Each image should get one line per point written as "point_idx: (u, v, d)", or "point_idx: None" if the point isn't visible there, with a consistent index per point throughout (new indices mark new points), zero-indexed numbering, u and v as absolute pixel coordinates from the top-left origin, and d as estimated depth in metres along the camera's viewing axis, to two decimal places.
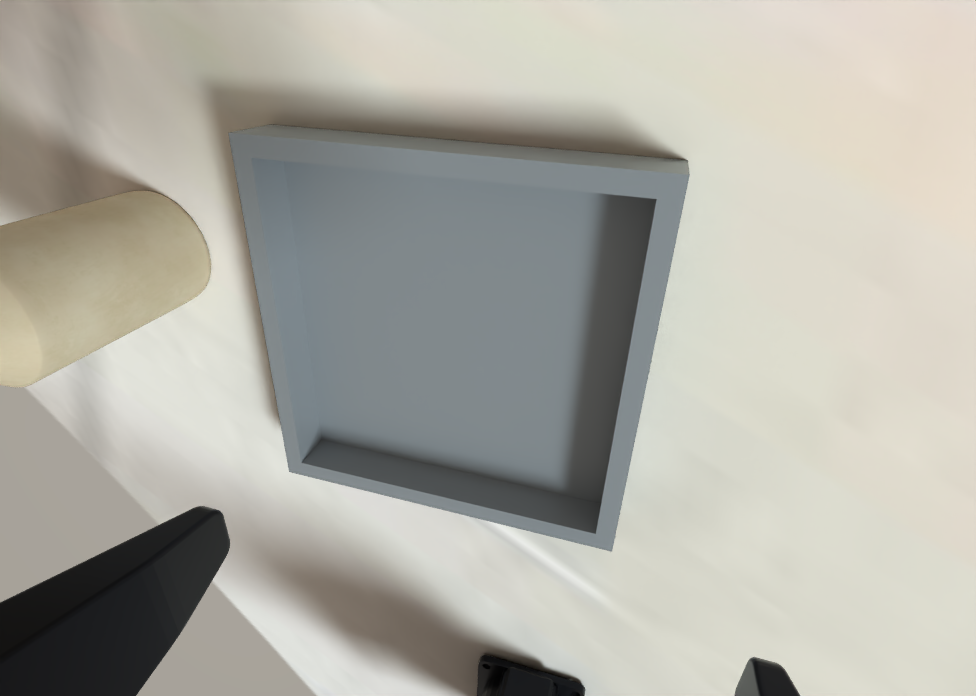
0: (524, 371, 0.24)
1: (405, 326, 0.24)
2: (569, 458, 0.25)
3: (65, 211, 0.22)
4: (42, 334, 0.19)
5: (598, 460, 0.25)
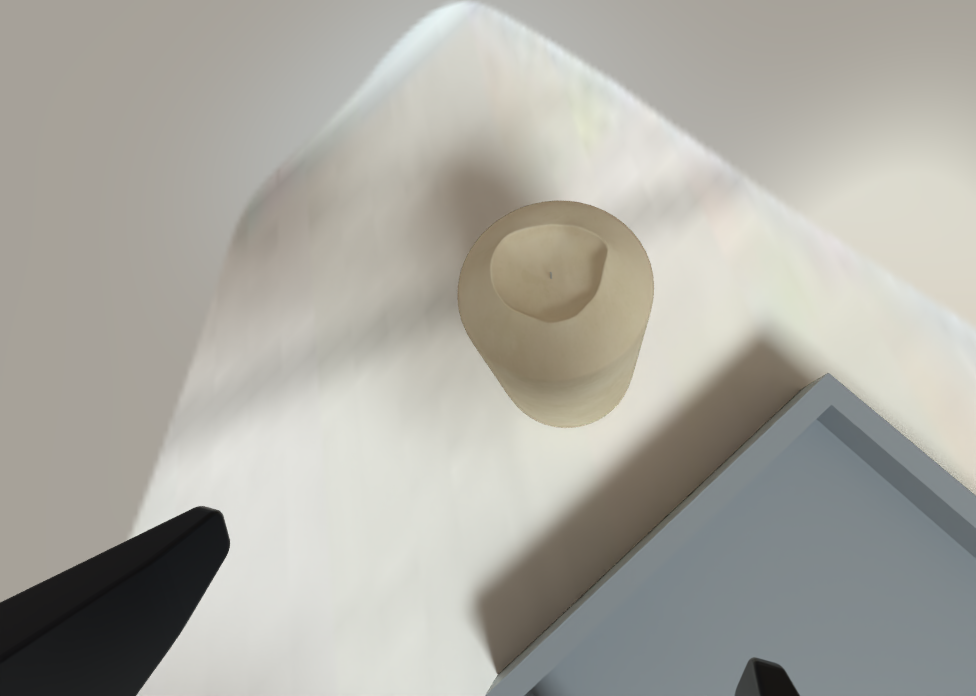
0: None
1: (788, 659, 0.19)
2: None
3: None
4: (619, 359, 0.15)
5: None
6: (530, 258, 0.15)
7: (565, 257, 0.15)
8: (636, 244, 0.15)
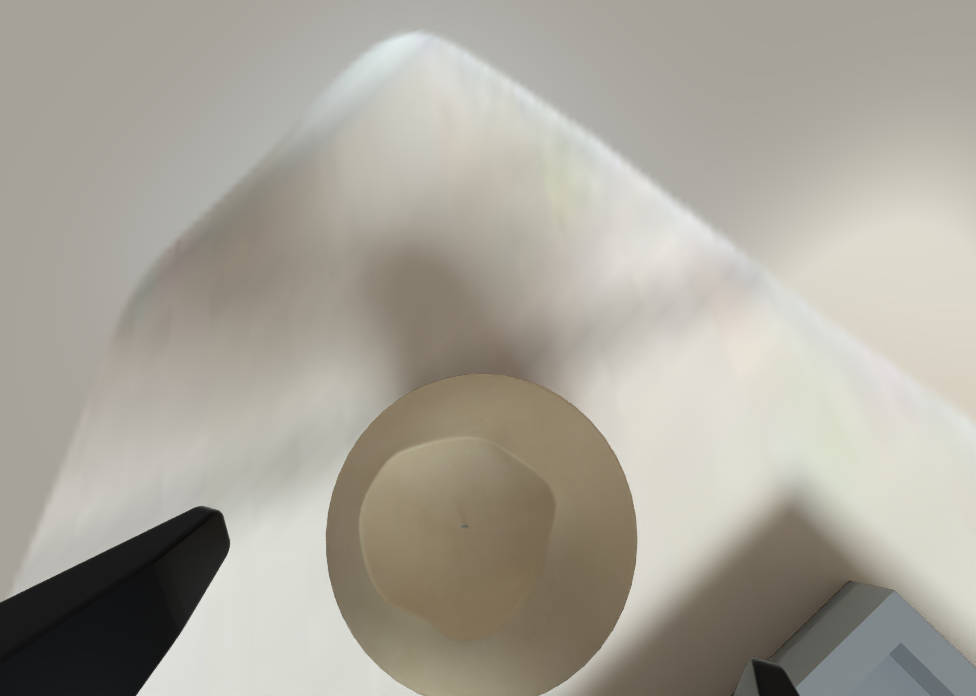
0: None
1: None
2: None
3: None
4: (578, 669, 0.09)
5: None
6: (434, 488, 0.09)
7: (492, 491, 0.09)
8: (610, 464, 0.09)
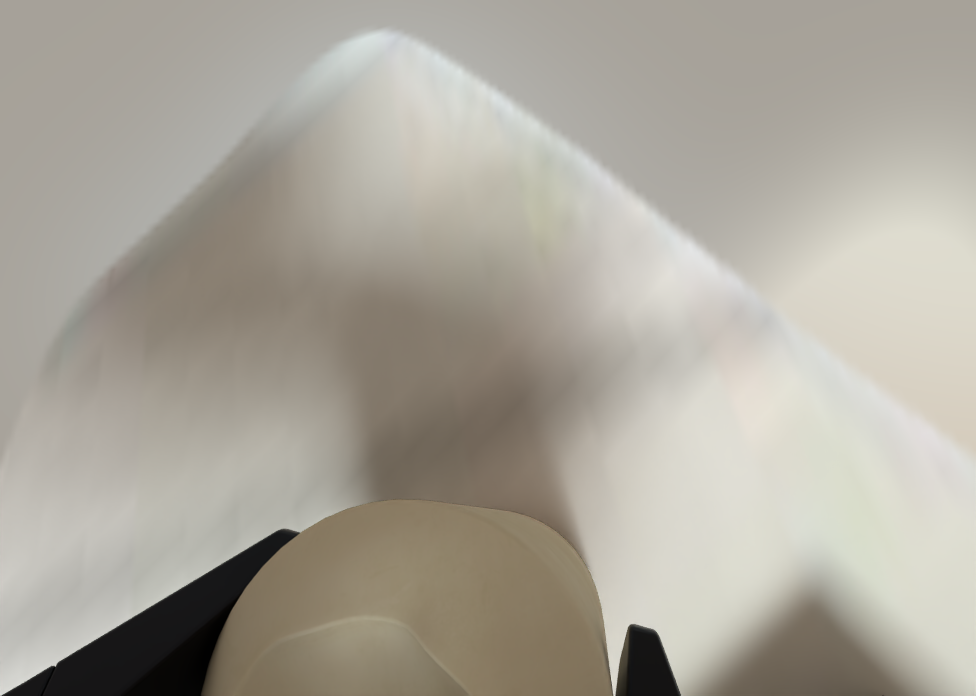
0: None
1: None
2: None
3: (568, 554, 0.11)
4: None
5: None
6: (333, 683, 0.07)
7: (412, 694, 0.06)
8: (581, 646, 0.07)
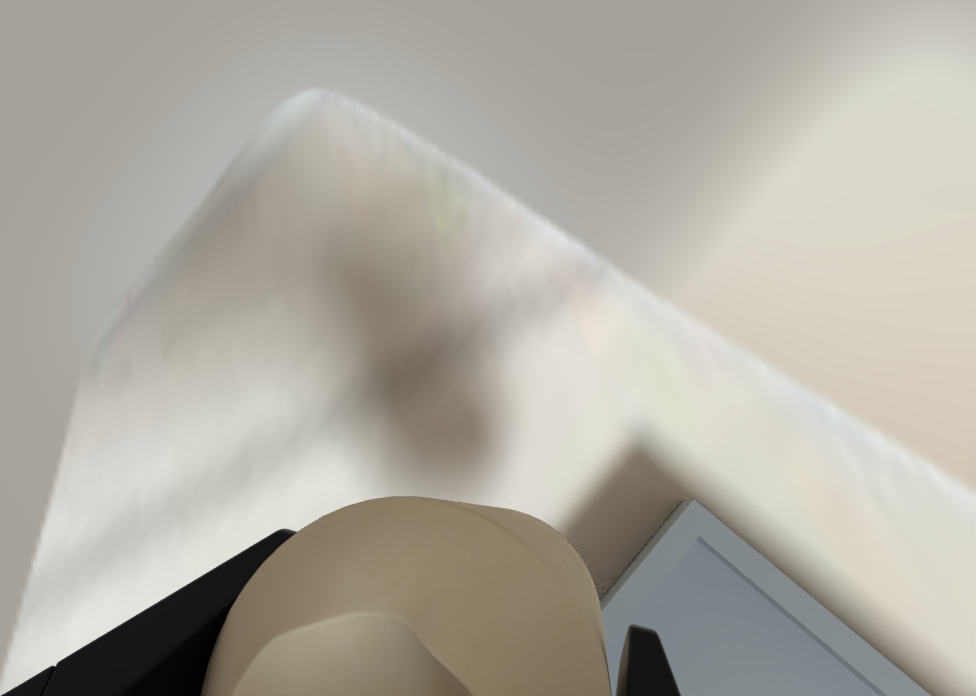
0: None
1: None
2: None
3: (566, 552, 0.11)
4: None
5: None
6: (332, 680, 0.07)
7: (411, 690, 0.06)
8: (579, 641, 0.07)
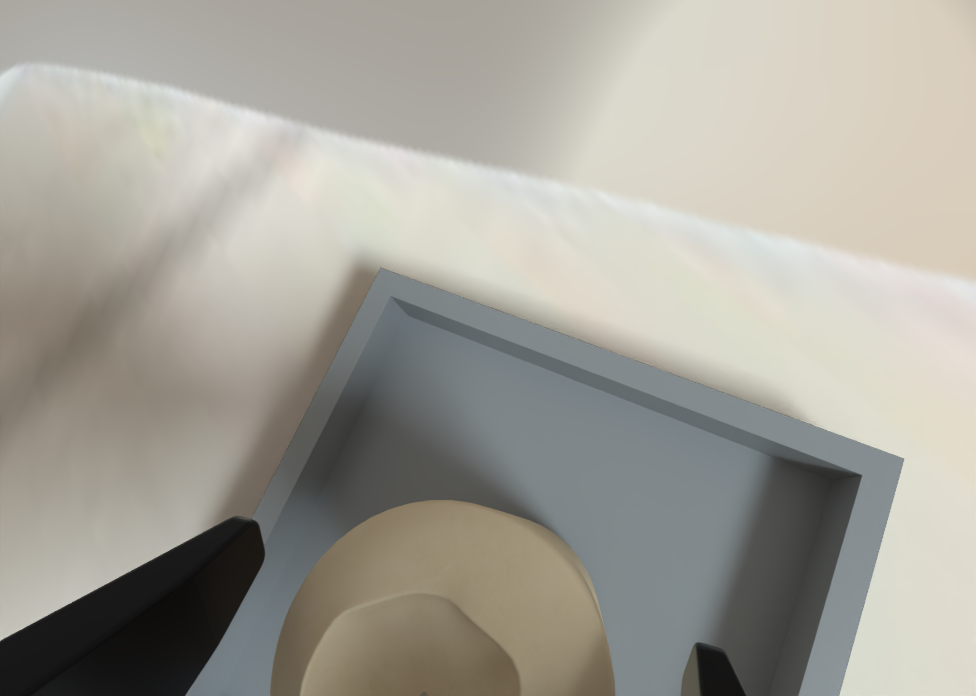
0: None
1: None
2: None
3: (569, 551, 0.13)
4: None
5: None
6: (388, 647, 0.08)
7: (453, 653, 0.08)
8: (584, 614, 0.08)
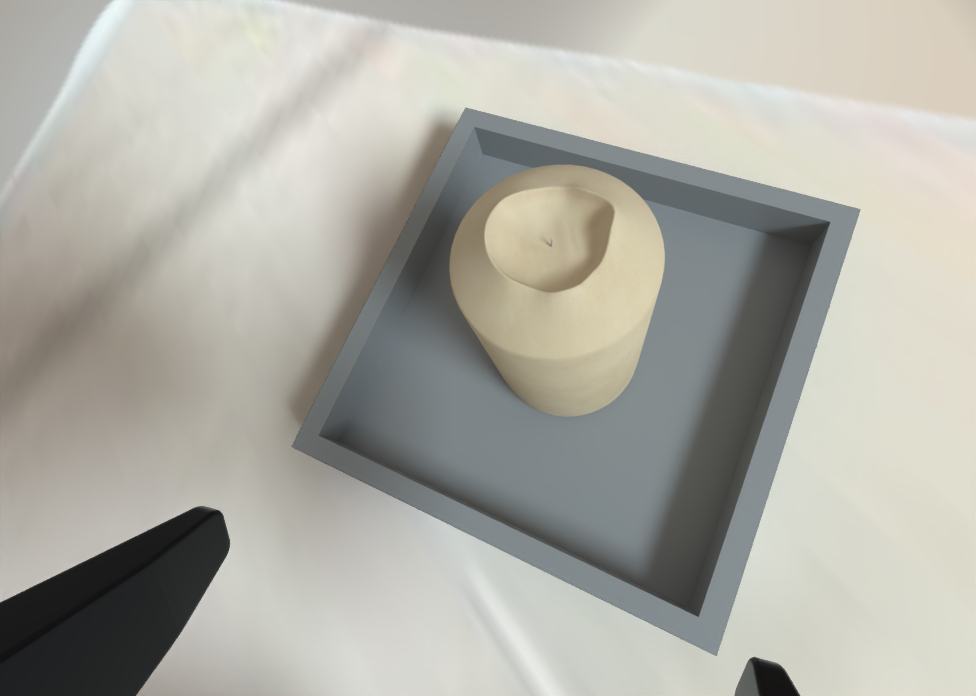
0: (638, 396, 0.21)
1: None
2: (662, 524, 0.20)
3: None
4: (627, 334, 0.14)
5: (699, 534, 0.20)
6: (528, 225, 0.14)
7: (568, 223, 0.14)
8: (645, 208, 0.14)
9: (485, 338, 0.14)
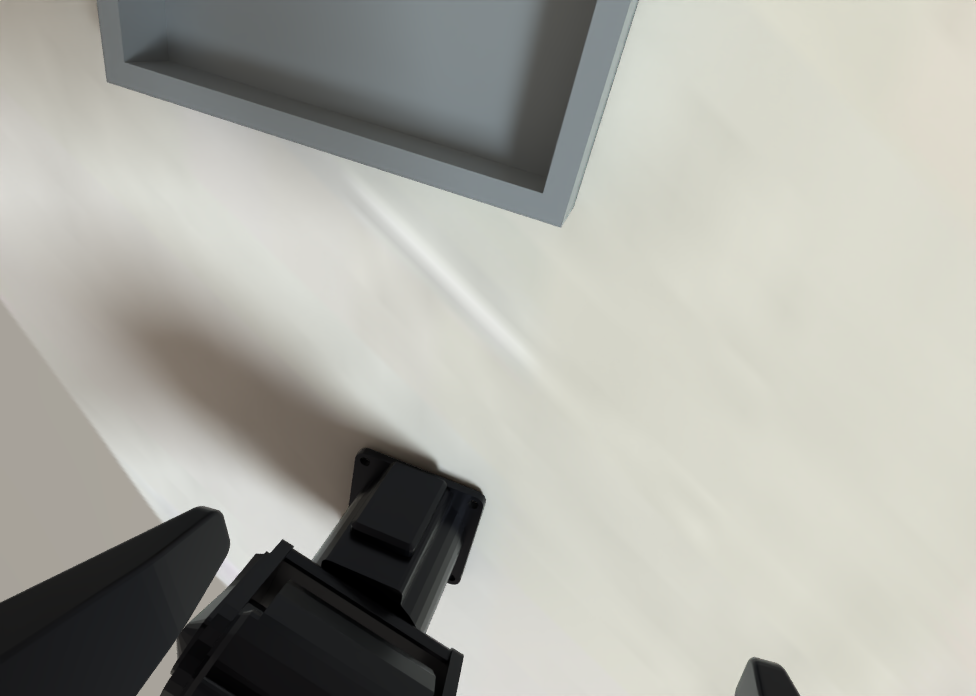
0: None
1: None
2: (523, 92, 0.17)
3: None
4: None
5: (564, 96, 0.17)
6: None
7: None
8: None
9: None
